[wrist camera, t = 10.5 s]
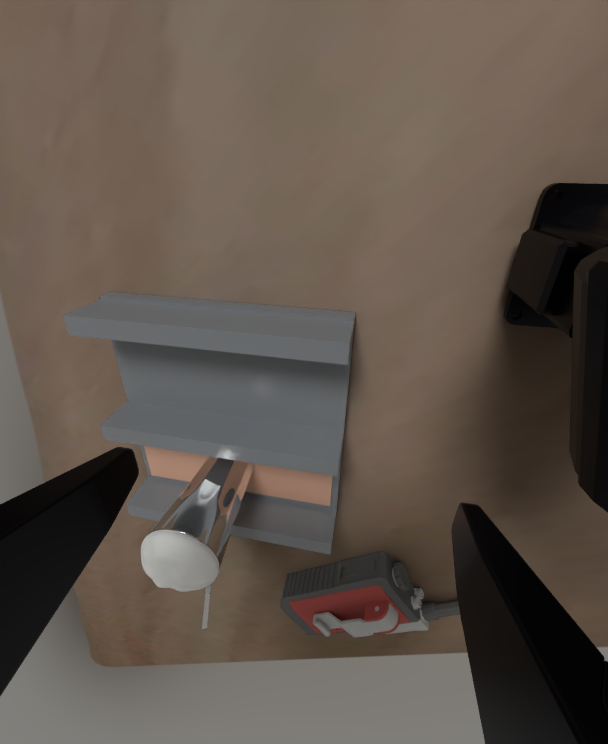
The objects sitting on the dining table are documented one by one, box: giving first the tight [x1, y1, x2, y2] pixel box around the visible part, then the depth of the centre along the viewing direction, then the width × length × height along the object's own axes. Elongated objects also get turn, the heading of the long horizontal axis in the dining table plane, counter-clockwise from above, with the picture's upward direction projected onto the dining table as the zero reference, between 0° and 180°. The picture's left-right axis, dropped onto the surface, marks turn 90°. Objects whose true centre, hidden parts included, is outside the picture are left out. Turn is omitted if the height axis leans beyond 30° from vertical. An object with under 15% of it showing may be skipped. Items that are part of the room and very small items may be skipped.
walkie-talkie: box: [280, 552, 460, 637], centre depth 30 cm, size 9×4×20 cm
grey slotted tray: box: [63, 292, 356, 555], centre depth 24 cm, size 16×17×4 cm
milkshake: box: [141, 456, 253, 629], centre depth 22 cm, size 5×5×10 cm
